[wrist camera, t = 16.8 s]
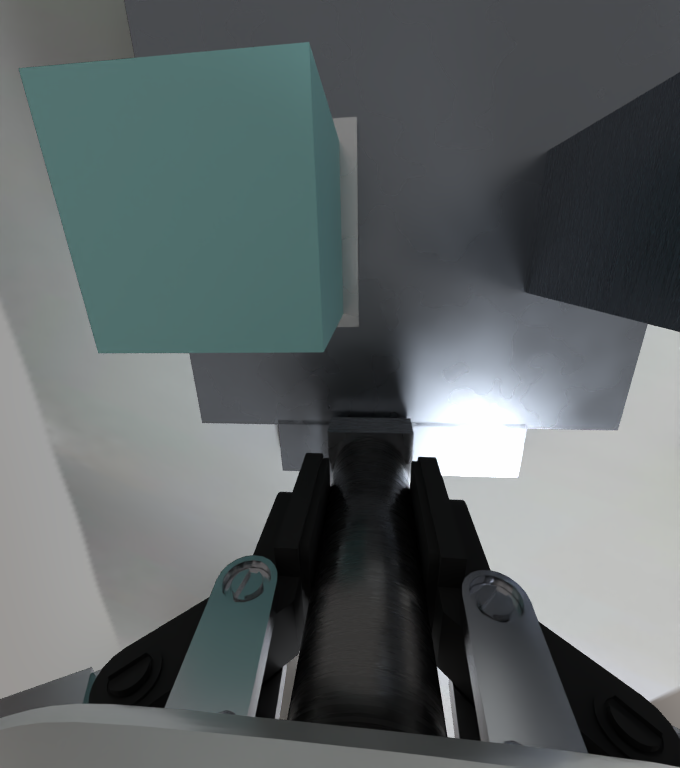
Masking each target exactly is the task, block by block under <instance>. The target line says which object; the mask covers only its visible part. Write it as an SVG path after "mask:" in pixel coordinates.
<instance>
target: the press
mask: <svg viewBox="0 0 680 768" xmlns="http://www.w3.org/2000/svg"><path fill="white" fill-rule="evenodd" d="M124 1H125V7H126V12H127V17H128V23H129V28H130V34H131V39H132V45H133V50H134V55H135V58H138V57H149V56H160V55H171V54H182V53H193V52H204V51H215V50H226V49H237V48H248V47H259V46H271V45H282V44H293V43H304V42H309V44H310V47H311V50H312V53H313V57H314V60H315V63H316V66H317V70H318V73H319V76H320V80H321V83H322V86H323V89H324V93H325V96H326V99H327V102H328V106H329V109H330V112H331V116H332V119H333V122H334V125H335V129H336V132H337V135H338V138H339V158H340V198H341V238H342V278H343V315H342V317H341V319H340V321H339V323H338V325H337V327H336V329H335V331H334V333H333V335H332V337H331V339H330V341H329V343H328V345H327V347H326V349H325V350H324V352H291V353H190V359H191V364H192V369H193V375H194V380H195V386H196V391H197V397H198V402H199V407H200V413H201V418H202V423H238V424H278V427H279V437H280V447H281V457H282V467H283V470H284V471H300V469H301V466H302V463H303V460H304V457H305V454H306V453H323V456H324V458H329V454H328V428H329V424H330V421H331V417H357V418H411V423H412V427H413V432H414V441H413V460H412V461H417V460H418V457H436V459H437V462H438V465H439V468H440V471H441V475H448V476H481V477H514V478H518V475H519V469H520V464H521V458H522V453H523V447H524V442H525V436H526V430H527V429H581V430H618V427H619V423H620V420H621V416H622V413H623V409H624V406H625V402H626V399H627V395H628V392H629V388H630V384H631V381H632V377H633V374H634V370H635V367H636V363H637V360H638V356H639V353H640V349H641V346H642V342H643V338H644V335H645V331H646V328H647V324H651V325H654V326H658V327H662V328H666V329H670V330H674V331H678V332H680V0H124Z"/></svg>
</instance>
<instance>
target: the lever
mask: <svg viewBox="0 0 680 768" xmlns="http://www.w3.org/2000/svg"><path fill="white" fill-rule="evenodd" d="M413 441H414V432H413V427H412V423H411V418H357V417H331V421H330V424H329V428H328V454H329V462H330V492H329V498H328V503H327V509H326V514H325V519H324V525H323V530H322V535H321V541H320V546H319V551H318V557H317V562H316V568H315V573H314V578H313V584H312V589H311V594H310V600H309V605H308V610H307V616H306V621H305V627H304V632H303V637H302V643H301V648H300V653H299V659H298V664H297V669H296V675H295V680H294V686H293V691H292V696H291V702H290V707H289V712H288V718H287V720H290V721H300V722H310V723H319V724H328V725H338V726H347V727H357V728H366V729H375V730H385V731H394V732H403V733H413V734H422V735H431V736H440V737H447V731H446V725H445V718H444V711H443V705H442V698H441V692H440V685H439V679H438V672H437V666H436V659H435V652H434V646H433V639H432V633H431V626H430V620H429V613H428V606H427V600H426V594H425V588H424V581H423V575H422V568H421V562H420V555H419V548H418V542H417V535H416V529H415V522H414V515H413V509H412V502H411V496H410V475H411V462H412V460H413Z"/></svg>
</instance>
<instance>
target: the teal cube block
mask: <svg viewBox="0 0 680 768" xmlns="http://www.w3.org/2000/svg"><path fill="white" fill-rule="evenodd" d="M19 72H20V75H21V79H22V83H23V86H24V90H25V93H26V97H27V100H28V104H29V107H30V111H31V115H32V118H33V122H34V125H35V129H36V132H37V136H38V140H39V143H40V147H41V150H42V154H43V157H44V161H45V165H46V168H47V172H48V175H49V179H50V182H51V186H52V189H53V193H54V197H55V200H56V204H57V207H58V211H59V214H60V218H61V222H62V225H63V229H64V232H65V236H66V239H67V243H68V247H69V250H70V254H71V257H72V261H73V264H74V268H75V272H76V275H77V279H78V282H79V286H80V289H81V293H82V296H83V300H84V304H85V307H86V311H87V314H88V318H89V321H90V325H91V329H92V332H93V336H94V339H95V343H96V346H97V350H98V353H291V352H324V350H325V349H326V347H327V345H328V343H329V341H330V339H331V337H332V335H333V333H334V331H335V329H336V327H337V325H338V323H339V321H340V319H341V317H342V315H343V278H342V238H341V198H340V158H339V138H338V135H337V132H336V129H335V125H334V122H333V119H332V116H331V112H330V109H329V106H328V102H327V99H326V96H325V93H324V89H323V86H322V83H321V80H320V76H319V73H318V70H317V66H316V63H315V60H314V57H313V53H312V50H311V47H310V44H309V42H304V43H293V44H282V45H271V46H259V47H248V48H237V49H226V50H215V51H204V52H193V53H182V54H171V55H160V56H149V57H138V58H127V59H116V60H105V61H94V62H83V63H71V64H60V65H49V66H38V67H27V68H19Z"/></svg>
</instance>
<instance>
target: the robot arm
mask: <svg viewBox="0 0 680 768" xmlns="http://www.w3.org/2000/svg"><path fill="white" fill-rule="evenodd" d="M329 492H330V462H329V458H324V456H323V453H306V454H305V457H304V460H303V463H302V466H301V469H300V472H299V475H298V478H297V481H296V484H295V487H294V490H293V492H279V493H278V495H277V497H276V499H275V502H274V504H273V507H272V509H271V512H270V514H269V517H268V519H267V522H266V524H265V527H264V529H263V532H262V534H261V537H260V539H259V542H258V544H257V546H256V549H255V551H254V554H253V555H252V556H245V557H242V558H239V559H237V560H235V561H233V562H232V563H230V564H229V565H227V566H226V567H225V568H224V570H223V571H222V572H221V573H220V575H219V576H218V578H217V580H216V582H215V585H214V587H213V590H212V592H211V595H210V597H209V598H207V599H205V600H204V601H202V602H200V603H199V604H197V605H195V606H194V607H192V608H191V609H189V610H187V611H186V612H184V613H182V614H181V615H179V616H177V617H176V618H174V619H172V620H171V621H169V622H167V623H166V624H164V625H162V626H161V627H159V628H158V629H156V630H154V631H153V632H151V633H149V634H148V635H146V636H144V637H143V638H141V639H139V640H138V641H136V642H134V643H133V644H131V645H129V646H128V647H126V648H125V649H123V650H122V651H121V652H119V653H118V654H117V655H115V656H114V657H113V658H112V659H111V660H110V661H109V662H108V663H107V664H106V665H105V666H104V667H103V668H102V669H101V670H98V671H96V672H94V671H93V668H92V667H90V668H88V669H85V670H82V671H79V672H76V673H74V674H71V675H68V676H65V677H62V678H59V679H56V680H53V681H51V682H48V683H45V684H42V685H39V686H36V687H34V688H31V689H28V690H25V691H22V692H19V693H16V694H14V695H11V696H8V697H5V698H2V699H0V768H680V729H678V728H676V727H674V726H672V725H671V724H670V723H669V721H668V720H667V719H666V718H665V717H664V716H663V715H662V713H661V712H660V711H659V710H658V709H657V708H656V707H655V706H654V705H652V704H651V703H650V702H649V701H648V700H646V699H645V698H644V697H643V696H642V695H640V694H639V693H637V692H636V691H635V690H633V689H632V688H631V687H629V686H628V685H626V684H625V683H624V682H622V681H621V680H619V679H618V678H617V677H615V676H614V675H612V674H611V673H610V672H608V671H607V670H605V669H604V668H603V667H601V666H600V665H598V664H597V663H596V662H594V661H593V660H591V659H590V658H589V657H587V656H586V655H584V654H583V653H582V652H580V651H579V650H577V649H576V648H575V647H573V646H572V645H571V644H569V643H568V642H566V641H565V640H564V639H562V638H561V637H559V636H558V635H557V634H555V633H554V632H552V631H551V630H550V629H548V628H547V627H545V626H544V625H543V624H541V623H540V622H538V620H537V617H536V614H535V612H534V609H533V606H532V604H531V601H530V599H529V598H528V596H527V594H526V592H525V591H524V590H523V589H522V588H521V587H520V586H519V585H518V584H517V583H516V582H515V581H513V580H512V579H510V578H509V577H507V576H505V575H503V574H501V573H499V572H495V571H491V570H490V568H489V565H488V562H487V560H486V557H485V554H484V551H483V549H482V546H481V543H480V541H479V538H478V535H477V532H476V530H475V527H474V524H473V522H472V519H471V516H470V513H469V511H468V508H467V505H466V503H465V501H463V500H449V498H448V494H447V491H446V488H445V484H444V481H443V478H442V475H441V471H440V468H439V465H438V462H437V459H436V457H418V460H417V461H412V462H411V475H410V496H411V502H412V509H413V515H414V522H415V529H416V535H417V542H418V548H419V555H420V562H421V568H422V575H423V581H424V588H425V594H426V600H427V606H428V613H429V620H430V626H431V633H432V639H433V646H434V652H435V659H436V666H437V667H438V668H439V669H440V670H441V671H442V672H443V673H444V674H445V675H446V676H447V677H448V678H449V692H450V700H451V709H452V718H453V726H454V735H455V738H449V737H440V736H431V735H422V734H413V733H403V732H394V731H385V730H375V729H366V728H357V727H347V726H338V725H328V724H319V723H310V722H300V721H290V720H281V719H279V717H280V711H281V704H282V697H283V691H284V684H285V677H286V671H287V663H288V662H289V661H291V660H292V659H293V658H294V657H295V656H297V655H298V654H299V651H300V648H301V643H302V637H303V632H304V627H305V621H306V616H307V610H308V605H309V600H310V594H311V589H312V584H313V578H314V573H315V568H316V562H317V557H318V551H319V546H320V541H321V535H322V530H323V525H324V519H325V514H326V509H327V503H328V498H329Z"/></svg>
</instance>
